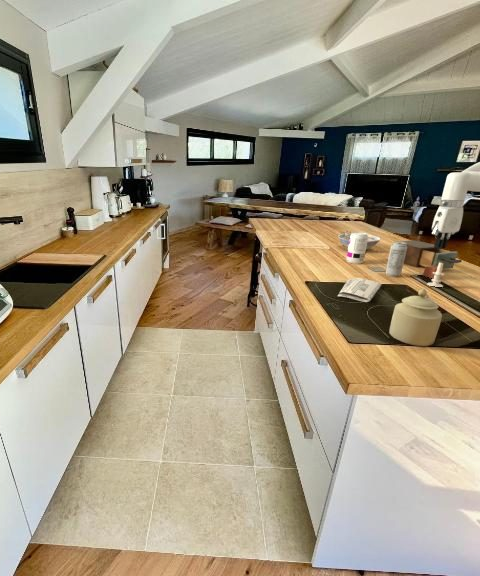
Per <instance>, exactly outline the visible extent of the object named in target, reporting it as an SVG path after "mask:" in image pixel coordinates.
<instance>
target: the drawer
mask: <svg viewBox="0 0 480 576" xmlns="http://www.w3.org/2000/svg"><path fill="white" fill-rule="evenodd" d="M457 256H458V251H451V250H446V249H438V248H433V249H422V250H421V254H420V258H419V262H418V265H422V267H425V266H433V265H434V266H437V267H438V265H439V263H441V262H442V263H443V270H449V269H454V266H455V264H460V263H462V262H463V260H462V259H457Z"/></svg>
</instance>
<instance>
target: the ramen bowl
mask: <svg viewBox="0 0 480 576" xmlns="http://www.w3.org/2000/svg"><path fill="white" fill-rule="evenodd" d="M351 234H352V231H351V230H350V231H348V230H346V232H345V233H341V234H338V235H337V237H338V240H339V242H340V243H341V244H342V246H343V247H346V248H348V246H349V240H350V235H351ZM367 235H368V241H367V246H366V250H368V249H371V248H372V247H373V248H374V247H375V246H376V245H377V244H378V243H379V242H380V241H381V238H380V236H376V235H372V234H367Z"/></svg>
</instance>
